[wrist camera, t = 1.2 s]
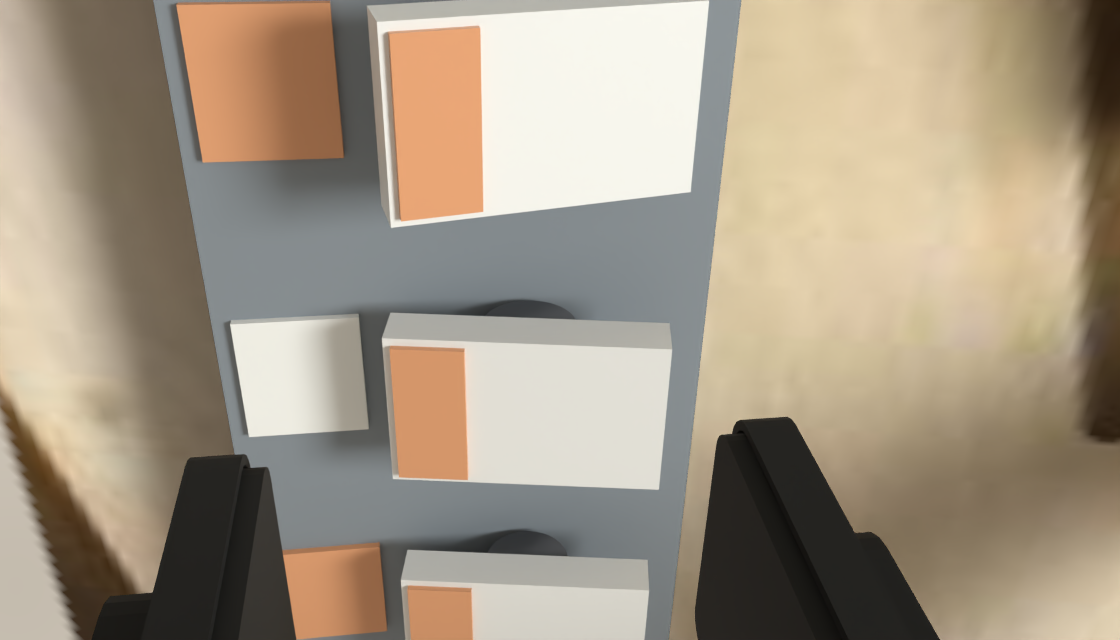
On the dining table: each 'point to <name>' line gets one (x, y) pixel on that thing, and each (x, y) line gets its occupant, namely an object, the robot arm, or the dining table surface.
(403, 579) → the switch
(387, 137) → the switch
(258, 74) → the console
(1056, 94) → the dining table surface
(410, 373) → the switch
